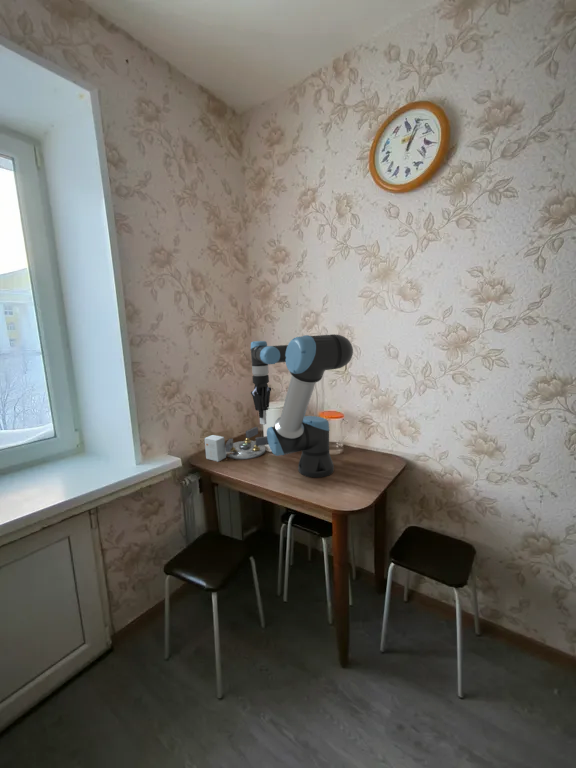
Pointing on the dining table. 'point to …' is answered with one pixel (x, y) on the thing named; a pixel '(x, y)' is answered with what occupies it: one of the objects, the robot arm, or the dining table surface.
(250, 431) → the knob right
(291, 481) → the dining table surface
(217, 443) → the small box
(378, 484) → the dining table surface
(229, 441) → the knob left
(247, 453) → the plate
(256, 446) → the knob near
